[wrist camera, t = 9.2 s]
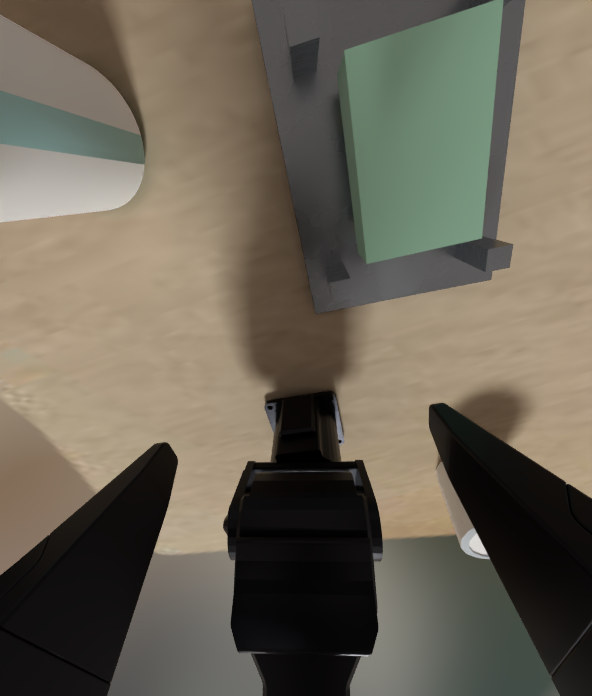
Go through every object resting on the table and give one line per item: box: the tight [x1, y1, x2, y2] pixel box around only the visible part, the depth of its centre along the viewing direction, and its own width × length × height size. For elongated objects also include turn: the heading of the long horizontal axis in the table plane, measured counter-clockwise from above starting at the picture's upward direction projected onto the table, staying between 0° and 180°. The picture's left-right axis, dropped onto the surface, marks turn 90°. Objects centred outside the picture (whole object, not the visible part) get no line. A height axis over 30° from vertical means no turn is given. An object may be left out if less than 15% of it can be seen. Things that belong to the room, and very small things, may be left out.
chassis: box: [252, 0, 525, 314], centre depth 14 cm, size 16×12×4 cm
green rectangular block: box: [337, 0, 503, 264], centre depth 13 cm, size 8×6×3 cm
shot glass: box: [436, 461, 490, 559], centre depth 26 cm, size 7×7×7 cm
